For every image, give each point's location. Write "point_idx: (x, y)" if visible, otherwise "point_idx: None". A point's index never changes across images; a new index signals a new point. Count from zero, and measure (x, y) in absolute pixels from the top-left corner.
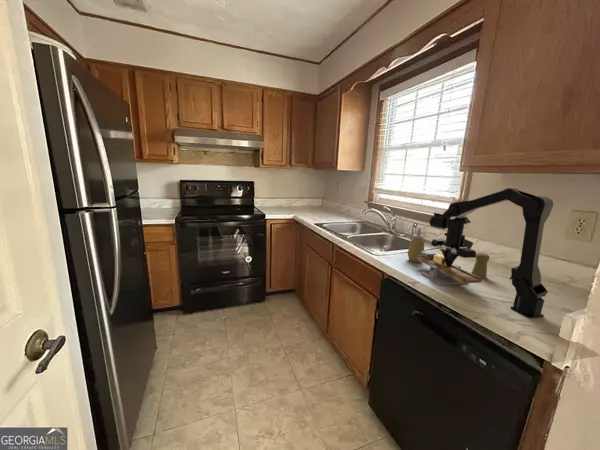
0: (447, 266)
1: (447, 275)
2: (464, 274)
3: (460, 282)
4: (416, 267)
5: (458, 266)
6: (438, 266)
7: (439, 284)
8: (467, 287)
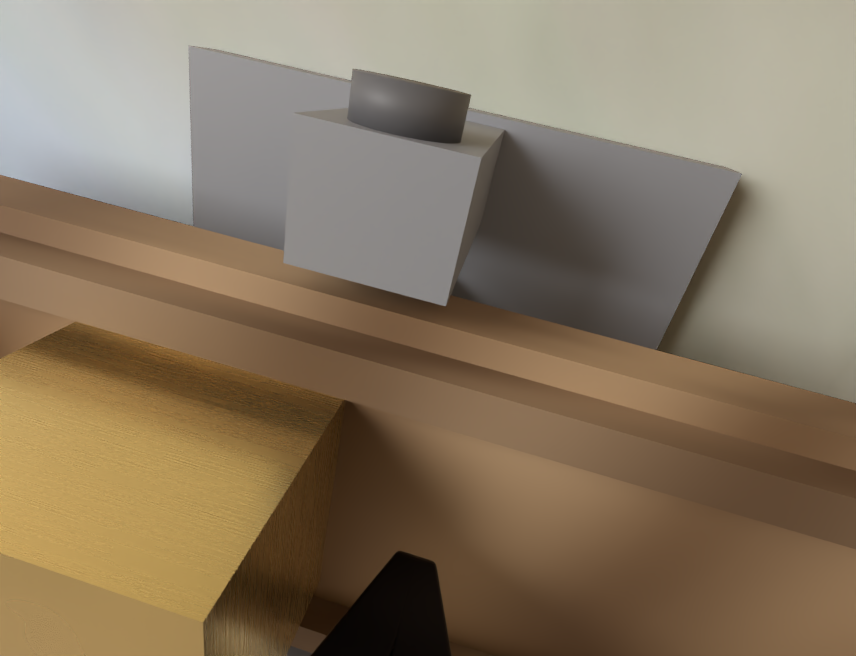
0: (332, 468)
1: None
2: (841, 595)
3: (656, 340)
4: None
5: (443, 239)
6: (311, 636)
7: None
8: (786, 334)
